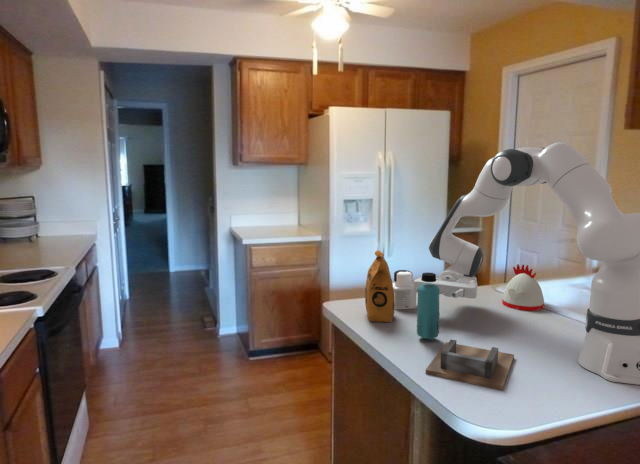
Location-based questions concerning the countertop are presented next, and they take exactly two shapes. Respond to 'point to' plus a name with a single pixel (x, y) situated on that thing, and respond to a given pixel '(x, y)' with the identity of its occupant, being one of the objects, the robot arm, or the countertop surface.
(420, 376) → the countertop surface
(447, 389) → the countertop surface
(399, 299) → the container
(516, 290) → the kitchen timer
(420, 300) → the beverage bottle
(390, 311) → the coffee package
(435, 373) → the bottle dock
